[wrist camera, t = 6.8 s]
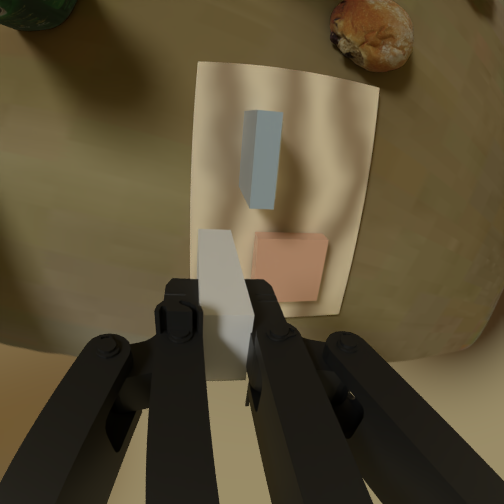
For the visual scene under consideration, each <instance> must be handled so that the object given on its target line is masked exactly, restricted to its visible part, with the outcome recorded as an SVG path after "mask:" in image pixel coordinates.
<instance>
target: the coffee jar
mask: <svg viewBox="0 0 504 504" xmlns="http://www.w3.org/2000/svg"><path fill="white" fill-rule="evenodd" d="M76 2H77V0H0V24H2V25H5V26H7V27H10V28H13V29H16V30H23V31H36V30H45V29H51V28H54V27H56V26H58V25H60V24H61V23H62V22H63V21H64V20H65V19H66V18H67V17H68V16H69V15H70V13H71V11H72V10H73V8H74V6H75V4H76Z"/></svg>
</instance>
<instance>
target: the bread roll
mask: <svg viewBox="0 0 504 504" xmlns="http://www.w3.org/2000/svg"><path fill="white" fill-rule="evenodd" d="M330 29H331V35H330V40H331V42H332V43H334V44H336V46H337V47H338V48H339V49H340V50H341V51H342V53H343V55H344V56H346V57H348V58H350V59H351V60H352V61H353V62H354V63H355V64H357V65H359V66H361V67H363V68H365V69H366V70H369V71H372V72H387V71H389V70H396V69H398V68H400V67H402V66H403V65H404V64H405V63H406V61H407V60H408V58H409V56H410V54H411V53H412V51H413V42H414V35H413V33H414V30H413V24H412V21H411V19H410V17H409V15H408V14H407V12H406V11H405V10H404V9H403V8H401V7H400V6H399V5H398V4H397V3H395V2H394V1H391V0H344V1H342V2H341V3H339V4H338V5H337V7H336V8H334V10H333V12H332V14H331V18H330Z"/></svg>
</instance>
